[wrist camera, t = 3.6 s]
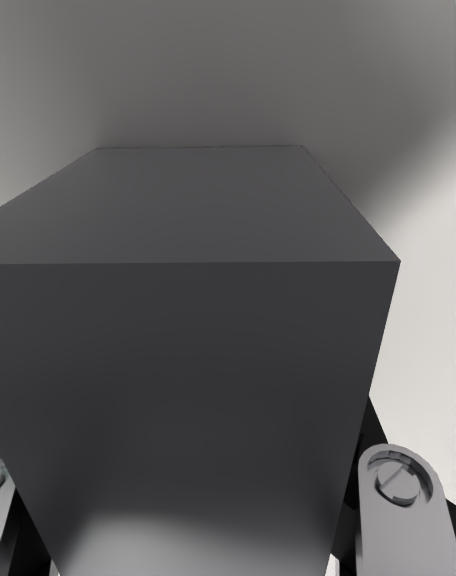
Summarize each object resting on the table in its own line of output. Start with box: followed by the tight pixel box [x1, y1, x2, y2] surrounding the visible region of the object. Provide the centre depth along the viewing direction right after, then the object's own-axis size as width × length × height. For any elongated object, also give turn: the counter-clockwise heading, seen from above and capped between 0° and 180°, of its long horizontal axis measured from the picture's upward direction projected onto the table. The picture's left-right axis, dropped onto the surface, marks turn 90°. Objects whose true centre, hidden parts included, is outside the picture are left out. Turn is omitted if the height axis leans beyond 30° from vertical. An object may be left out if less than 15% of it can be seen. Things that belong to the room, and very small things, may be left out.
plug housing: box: [0, 146, 401, 576], centre depth 9 cm, size 4×14×6 cm, turn 1°
